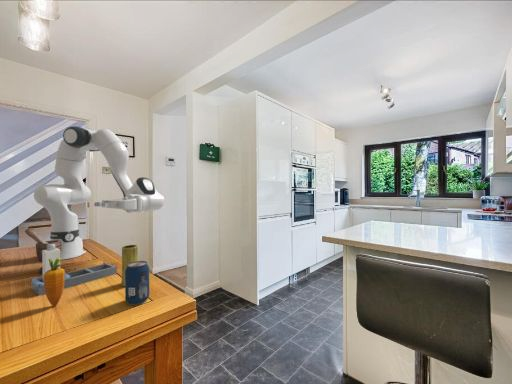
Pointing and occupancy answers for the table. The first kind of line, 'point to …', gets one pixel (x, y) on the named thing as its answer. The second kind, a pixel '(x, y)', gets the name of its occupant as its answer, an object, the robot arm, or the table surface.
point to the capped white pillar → (49, 257)
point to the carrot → (54, 282)
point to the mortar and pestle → (42, 244)
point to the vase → (128, 258)
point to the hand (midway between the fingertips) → (99, 204)
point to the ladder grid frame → (77, 277)
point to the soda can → (137, 282)
